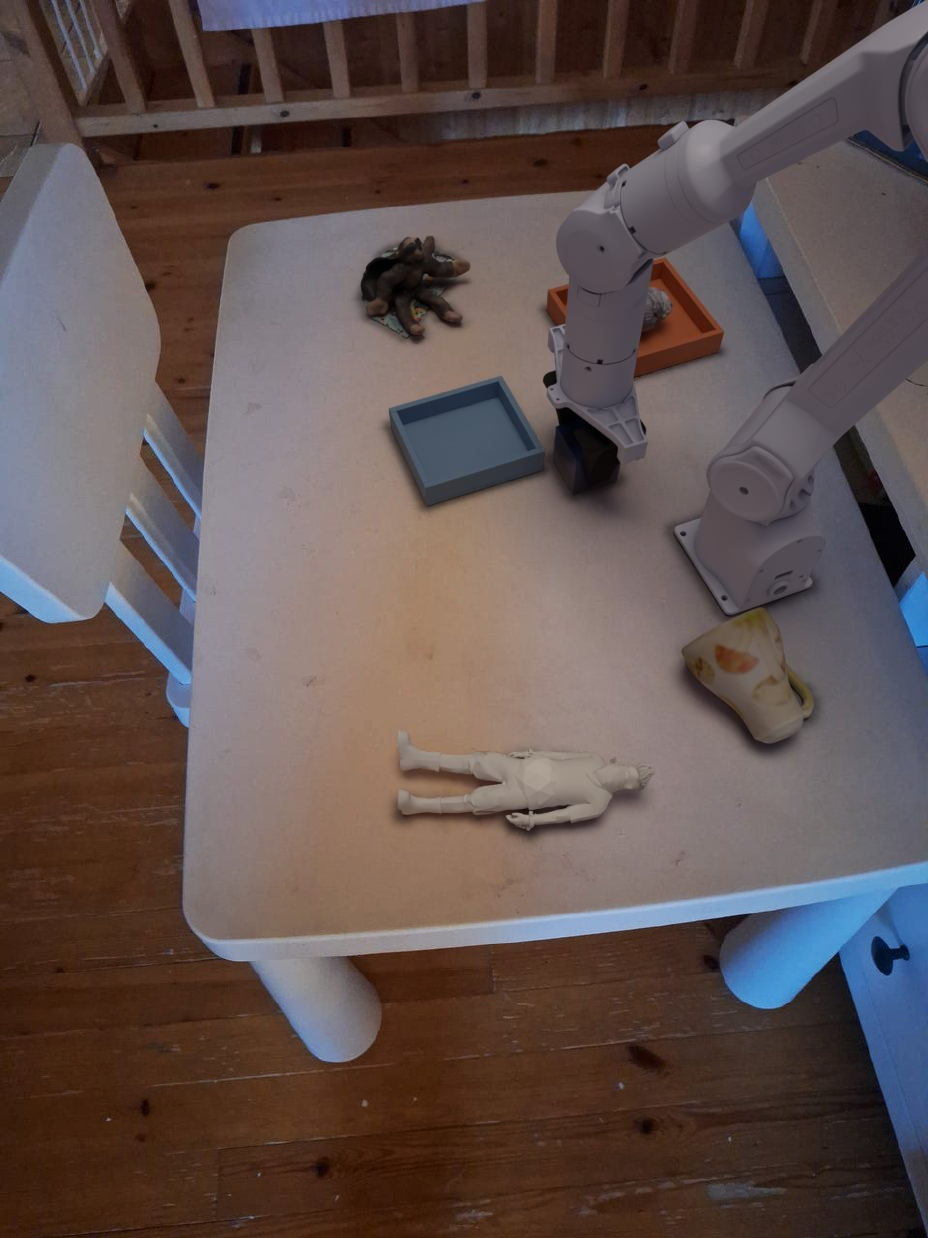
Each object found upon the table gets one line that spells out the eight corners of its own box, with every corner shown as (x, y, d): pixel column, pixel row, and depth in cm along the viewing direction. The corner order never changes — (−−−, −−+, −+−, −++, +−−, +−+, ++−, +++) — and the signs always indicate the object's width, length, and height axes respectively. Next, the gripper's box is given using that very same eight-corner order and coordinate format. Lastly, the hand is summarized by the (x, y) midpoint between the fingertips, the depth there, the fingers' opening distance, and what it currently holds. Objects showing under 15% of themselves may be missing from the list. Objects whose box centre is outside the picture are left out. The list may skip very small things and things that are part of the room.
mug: (751, 779, 66) (717, 684, 60) (692, 702, 74) (658, 612, 68) (844, 732, 65) (818, 632, 60) (775, 660, 73) (746, 566, 68)
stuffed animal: (381, 342, 89) (345, 222, 88) (376, 367, 98) (343, 260, 98) (494, 312, 90) (459, 194, 90) (477, 340, 100) (446, 234, 99)
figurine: (396, 727, 64) (651, 712, 63) (405, 746, 68) (646, 732, 67) (395, 826, 61) (663, 812, 60) (404, 840, 65) (658, 828, 63)
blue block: (617, 480, 80) (623, 446, 77) (572, 495, 80) (576, 461, 76) (596, 446, 83) (601, 411, 79) (552, 460, 82) (555, 426, 78)
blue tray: (543, 469, 81) (545, 450, 79) (426, 506, 80) (425, 488, 77) (501, 394, 86) (501, 374, 84) (390, 427, 85) (388, 407, 82)
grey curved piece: (569, 343, 90) (664, 337, 92) (584, 328, 85) (685, 323, 86) (564, 288, 90) (660, 284, 91) (579, 271, 84) (681, 266, 86)
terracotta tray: (719, 351, 89) (724, 331, 87) (597, 388, 87) (599, 368, 84) (661, 277, 95) (665, 256, 93) (546, 309, 93) (547, 289, 91)
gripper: (516, 293, 71) (513, 416, 83) (594, 417, 64) (578, 533, 76) (597, 271, 73) (583, 395, 84) (683, 390, 65) (654, 508, 77)
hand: (586, 459), depth 80 cm, fingers closed on blue block, 4 cm apart
